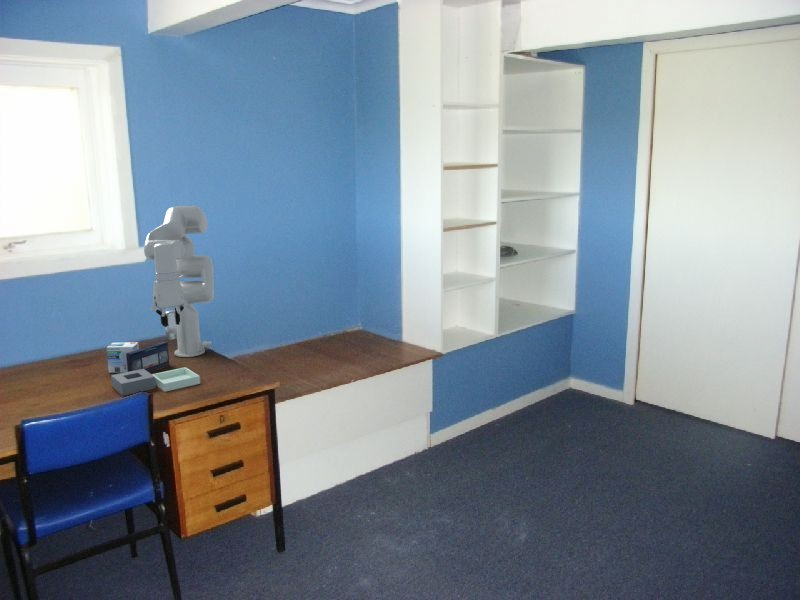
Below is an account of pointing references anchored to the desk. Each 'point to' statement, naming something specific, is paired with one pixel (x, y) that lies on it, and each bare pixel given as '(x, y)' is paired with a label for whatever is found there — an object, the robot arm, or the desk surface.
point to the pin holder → (133, 381)
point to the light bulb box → (119, 356)
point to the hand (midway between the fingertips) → (170, 324)
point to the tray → (176, 379)
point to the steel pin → (171, 325)
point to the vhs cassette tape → (148, 358)
